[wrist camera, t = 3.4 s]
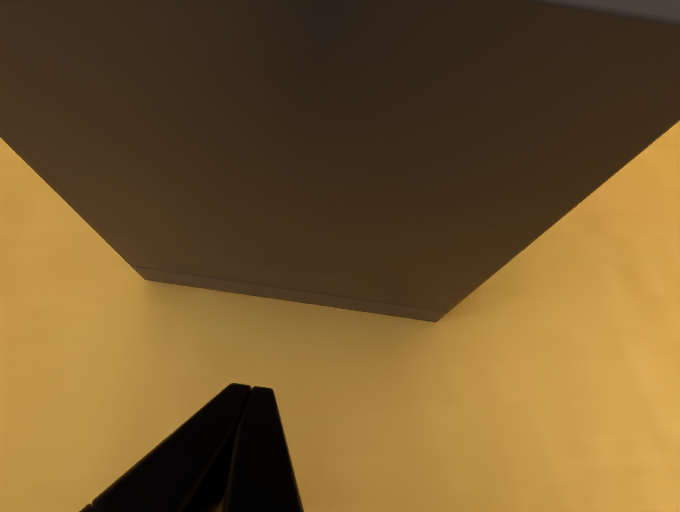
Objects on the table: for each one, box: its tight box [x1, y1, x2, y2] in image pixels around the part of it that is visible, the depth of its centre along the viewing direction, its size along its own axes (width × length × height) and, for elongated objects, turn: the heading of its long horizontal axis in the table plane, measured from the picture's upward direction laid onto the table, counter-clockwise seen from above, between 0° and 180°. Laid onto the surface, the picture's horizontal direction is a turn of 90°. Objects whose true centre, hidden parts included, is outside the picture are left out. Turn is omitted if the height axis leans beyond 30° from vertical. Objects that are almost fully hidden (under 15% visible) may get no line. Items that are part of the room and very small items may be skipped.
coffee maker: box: [0, 0, 680, 322], centre depth 13 cm, size 14×11×13 cm
